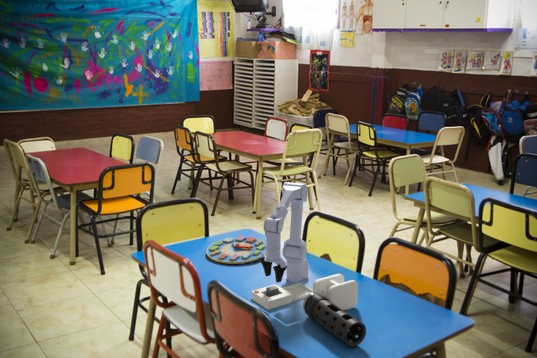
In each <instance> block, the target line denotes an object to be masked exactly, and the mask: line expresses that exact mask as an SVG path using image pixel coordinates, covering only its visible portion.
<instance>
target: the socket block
mask: <svg viewBox="0 0 537 358" xmlns="http://www.w3.org/2000/svg"><path fill="white" fill-rule="evenodd" d="M271 286H276V287H278V288H279V295H275V296H272V297H267V296H266V288H267V287H271ZM250 292H251V293H250V294H251V296H250V298H251V301H254V302H255V303H257V304H259V305H260V306H262V307H263V308H265V309H266V310H272V309H274V308H278V307H281V306H284V305H288V304H291V303H293V300H292V294H291V293H289V292H288V291H286V290H284V289H283V287H281V286H279V285H277V284H275V283H274V284H271V285H268V286H265V287H261V288H258V289H253V290H251V291H250Z"/></svg>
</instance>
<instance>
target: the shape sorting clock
mask: <svg viewBox="0 0 537 358" xmlns="http://www.w3.org/2000/svg"><path fill="white" fill-rule="evenodd" d="M262 252H266V242H265V241H263V240H261V239H258V238H256V237H253V236H251V237H247V236H243V235H239V236H237V237H225V238H223V239H220V240H217V241H215V242H212V243H211V244H209V246H208V247H207V248H206V251H205V253H206V256H207V257H208V258H209V259H210V260H212V261H214V262H217V263H221V264H228V265H229V264H231V265H234V264H236V265H238V264H239V265H244V264H247V263H251V262H255V261H257V260H259V259H260V260H261V259H262V257H261V253H262Z"/></svg>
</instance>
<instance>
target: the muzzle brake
mask: <svg viewBox="0 0 537 358" xmlns="http://www.w3.org/2000/svg"><path fill="white" fill-rule="evenodd" d="M302 308H303V310H304V313H305V315H306V317H308V318H310V319H311V320H313V321H315V322H317V323H318V324H319V325H321V326H322V327H323V328H324V329H326V331H327V330H328V331H329V332H330V333H331V334H333V335H334V336H335V337H336V338H338V339H339V340H341V341H342V342H343V343H345V344H346V345H347V346H349V347H351V348H352V349H354V348H356V347H357V346H359V345H360V344H361V343H363V342H364V339H366V338H365V337H366V335H367V327H366V325H365V324H364V323H363V322H362V321H360V320H358V319H357V317H354V316H353V315H351V314H350V313H348V312H347V311H346V310H342V309H341V308H339V307H338V306H336V305H335V304H333V303H332V302H330V301H329V300H328V299H327V298H326V297H324V296H323V295H321V294H316V293H311V294H309V295H308V296H307V297H306V298H304V300H303V304H302Z"/></svg>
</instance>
